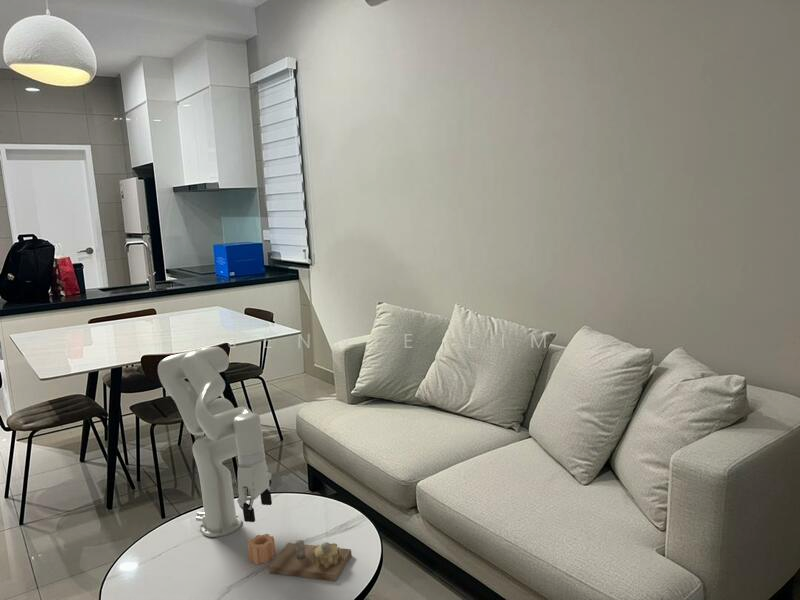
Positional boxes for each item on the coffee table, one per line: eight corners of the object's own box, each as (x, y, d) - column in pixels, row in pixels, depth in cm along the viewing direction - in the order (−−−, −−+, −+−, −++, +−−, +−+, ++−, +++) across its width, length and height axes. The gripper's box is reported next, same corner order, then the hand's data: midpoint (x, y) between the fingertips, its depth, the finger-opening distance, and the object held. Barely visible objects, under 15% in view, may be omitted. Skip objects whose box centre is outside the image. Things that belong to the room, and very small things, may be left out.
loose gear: (245, 562, 176) (243, 546, 175) (257, 548, 183) (256, 532, 182) (268, 565, 174) (266, 549, 173) (280, 550, 181) (278, 535, 180)
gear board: (269, 573, 170) (267, 551, 169) (289, 548, 181) (286, 528, 180) (335, 581, 164) (333, 559, 163) (351, 555, 176) (349, 535, 175)
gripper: (254, 444, 182) (261, 497, 185) (222, 469, 166) (230, 527, 169) (277, 445, 180) (284, 499, 183) (247, 470, 164) (255, 529, 166)
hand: (258, 512), depth 176 cm, fingers open, 9 cm apart
